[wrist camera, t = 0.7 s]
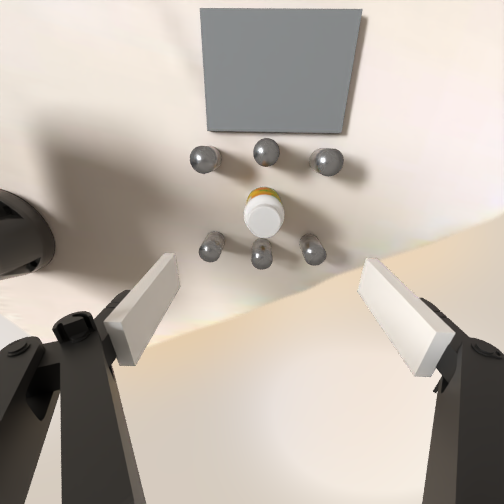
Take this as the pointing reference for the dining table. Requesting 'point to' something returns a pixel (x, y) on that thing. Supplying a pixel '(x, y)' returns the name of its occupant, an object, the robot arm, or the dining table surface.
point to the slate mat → (277, 68)
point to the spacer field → (265, 155)
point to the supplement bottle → (263, 212)
